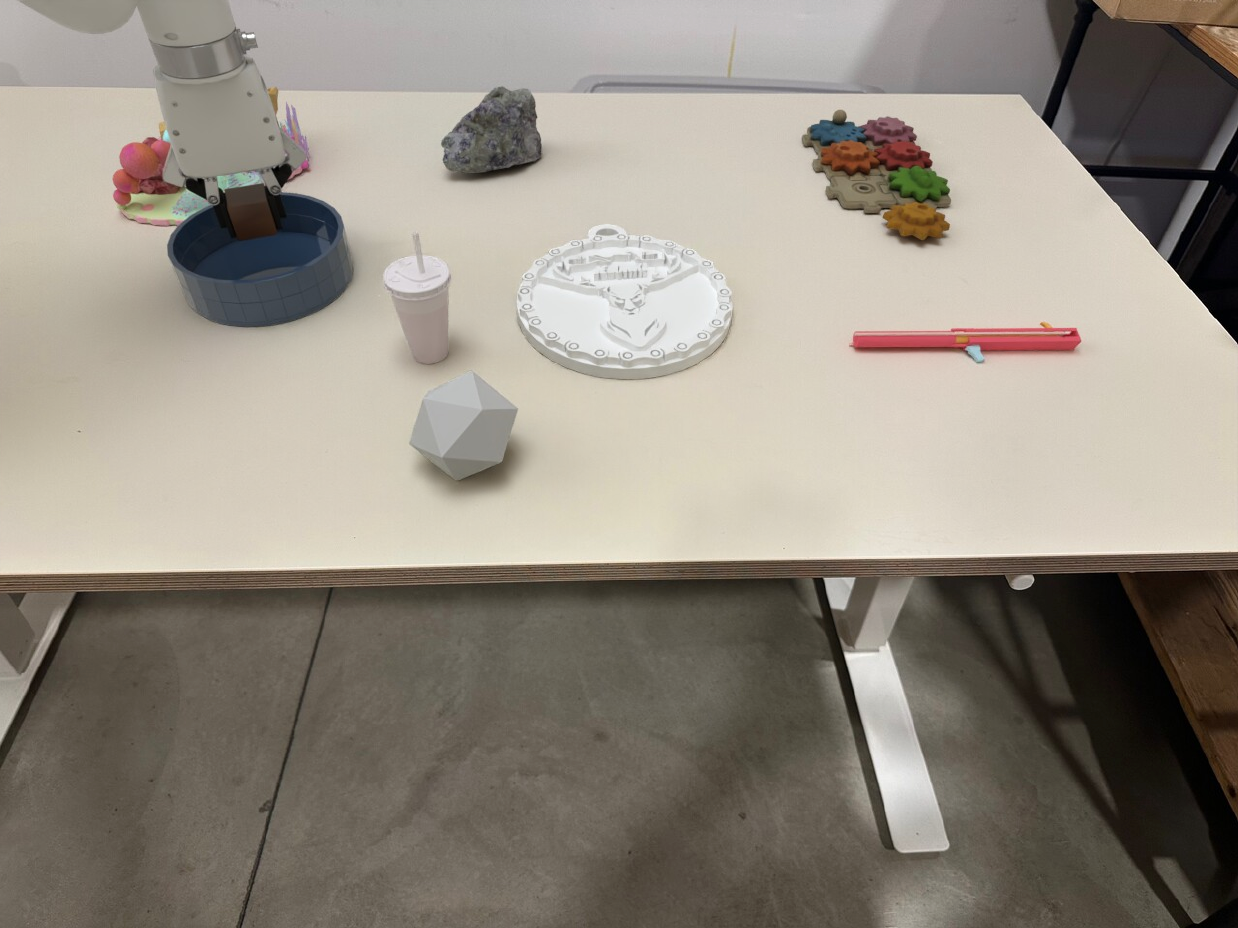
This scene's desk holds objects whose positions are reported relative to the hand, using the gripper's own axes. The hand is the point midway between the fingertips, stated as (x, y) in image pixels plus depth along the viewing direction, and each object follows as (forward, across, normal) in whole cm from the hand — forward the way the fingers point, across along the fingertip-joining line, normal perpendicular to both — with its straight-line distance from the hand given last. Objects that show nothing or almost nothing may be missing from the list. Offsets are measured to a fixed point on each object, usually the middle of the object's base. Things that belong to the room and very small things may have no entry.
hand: (255, 226), depth 93 cm
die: (+7, -14, +35) cm, 38 cm away
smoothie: (+7, -14, +19) cm, 24 cm away
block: (0, 0, 0) cm, 0 cm away
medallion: (+7, -36, +17) cm, 40 cm away
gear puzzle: (+7, -78, +4) cm, 78 cm away
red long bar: (+7, -67, +37) cm, 77 cm away
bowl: (+6, 0, 0) cm, 6 cm away
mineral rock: (+7, -31, -18) cm, 36 cm away
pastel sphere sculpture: (+7, +4, -26) cm, 27 cm away
